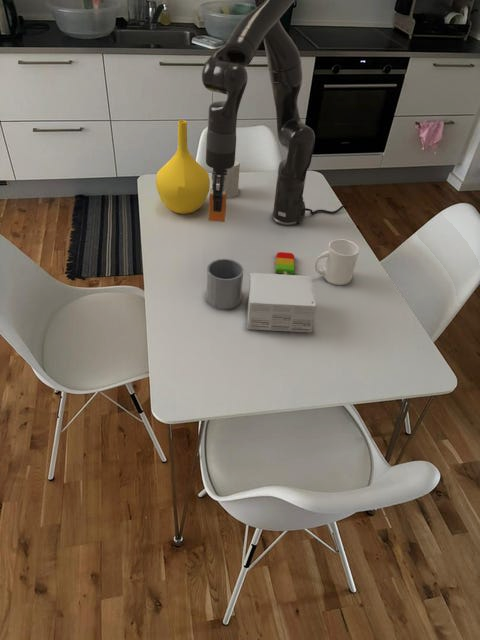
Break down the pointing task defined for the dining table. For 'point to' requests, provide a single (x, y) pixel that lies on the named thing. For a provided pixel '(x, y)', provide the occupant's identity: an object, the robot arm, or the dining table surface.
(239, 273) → the steel cup
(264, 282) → the supplement box
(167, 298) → the dining table surface
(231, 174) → the cup
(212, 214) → the juice carton
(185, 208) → the vase
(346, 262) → the mug
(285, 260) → the popsicle
